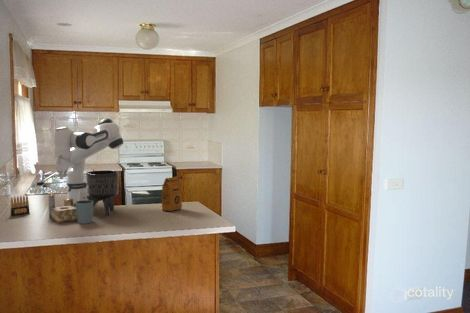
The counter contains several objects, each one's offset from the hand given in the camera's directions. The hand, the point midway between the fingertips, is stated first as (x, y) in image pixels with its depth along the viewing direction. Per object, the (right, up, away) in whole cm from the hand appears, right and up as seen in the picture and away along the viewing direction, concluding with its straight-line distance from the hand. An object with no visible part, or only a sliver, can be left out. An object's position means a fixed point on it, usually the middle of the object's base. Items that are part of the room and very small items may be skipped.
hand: (63, 178), depth 253 cm
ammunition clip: (-33, -24, +16) cm, 44 cm away
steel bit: (-10, -24, +9) cm, 28 cm away
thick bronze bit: (-2, -24, +15) cm, 28 cm away
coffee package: (+60, -23, +30) cm, 71 cm away
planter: (+18, -24, +20) cm, 36 cm away
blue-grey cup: (+14, -26, -2) cm, 29 cm away
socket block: (0, -25, +2) cm, 25 cm away
